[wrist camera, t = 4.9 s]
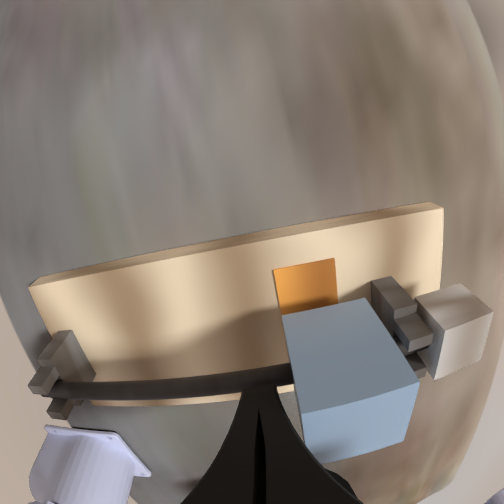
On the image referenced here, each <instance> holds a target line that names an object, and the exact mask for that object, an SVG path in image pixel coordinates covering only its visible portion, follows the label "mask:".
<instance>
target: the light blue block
mask: <svg viewBox="0 0 504 504" xmlns="http://www.w3.org/2000/svg"><path fill="white" fill-rule="evenodd" d="M281 316H282V322H283V327H284V333H285V339H286V345H287V351H288V357H289V362H290V363H291V368H292V374H293V380H294V384H293V386H294V391H295V397H296V402H297V407H298V413H299V418H300V423H301V429H302V434H303V440H304V444H305V445H306V447H307V448H308V449H309V451H310V452H311V453H312V454H313V456H314V457H315V458H316V459H317V460H318V462H319V463H320V464H325V463H329V462H334V461H338V460H342V459H346V458H350V457H354V456H357V455H361V454H365V453H368V452H371V451H375V450H378V449H381V448H384V447H387V446H390V445H393V444H396V443H399V442H402V441H403V440H404V437H405V434H406V431H407V428H408V424H409V421H410V418H411V414H412V411H413V407H414V403H415V400H416V396H417V392H418V388H419V383H420V381H419V379H418V378H417V376H416V374H415V373H414V371H413V369H412V368H411V366H410V365H409V363H408V362H407V360H406V358H405V357H404V355H403V354H402V352H401V351H400V349H399V347H398V346H397V344H396V343H395V341H394V340H393V338H392V337H391V335H390V334H389V332H388V331H387V329H386V328H385V326H384V325H383V323H382V322H381V320H380V319H379V317H378V316H377V314H376V313H375V311H374V310H373V308H372V307H371V306H370V304H369V303H368V301H367V300H366V298H361V299H357V300H353V301H348V302H344V303H339V304H335V305H330V306H326V307H321V308H316V309H311V310H306V311H301V312H296V313H291V314H286V315H281Z"/></svg>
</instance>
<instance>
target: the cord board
mask: <svg viewBox="0 0 504 504" xmlns="http://www.w3.org/2000/svg"><path fill="white" fill-rule="evenodd" d="M442 249H443V208H442V207H440V206H437V205H435V204H433V203H431V202H425V203H419V204H413V205H407V206H401V207H395V208H389V209H383V210H377V211H371V212H365V213H359V214H354V215H348V216H342V217H337V218H331V219H325V220H320V221H314V222H309V223H303V224H298V225H292V226H287V227H282V228H276V229H271V230H266V231H260V232H255V233H250V234H244V235H239V236H234V237H229V238H224V239H219V240H214V241H208V242H203V243H198V244H193V245H188V246H183V247H178V248H173V249H168V250H164V251H159V252H154V253H149V254H144V255H139V256H135V257H130V258H125V259H120V260H116V261H111V262H106V263H101V264H97V265H92V266H88V267H83V268H78V269H74V270H69V271H65V272H60V273H56V274H51V275H47V276H42V277H40V278H38V279H37V280H36V281H35V282H34V283H33V284H31V285H30V286H29V287H28V288H29V291H30V293H31V295H32V298H33V300H34V302H35V304H36V306H37V308H38V311H39V313H40V315H41V317H42V319H43V321H44V323H45V325H46V327H47V329H48V331H49V333H50V335H51V337H52V340H51V341H50V342H49V344H48V345H47V346H46V348H45V349H44V350H43V351H42V353H41V354H40V355H39V357H38V358H37V361H38V363H39V365H40V366H41V367H40V368H39V370H38V371H37V372H36V374H35V375H34V377H33V378H32V380H31V381H30V383H29V384H28V387H29V388H30V390H31V391H32V393H33V394H41V395H42V396H43V397H51V398H54V399H53V400H52V402H51V404H50V406H49V408H48V409H47V413H48V414H49V415H50V417H51V418H53V419H61V420H67V418H68V416H69V414H70V412H71V410H72V408H73V406H74V405H78V406H81V404H82V402H83V400H90V401H91V402H92V404H93V405H94V406H165V405H184V404H198V403H209V402H219V401H229V400H237V399H240V397H241V393H242V390H243V389H244V388H247V387H254V386H261V385H267V384H275V385H276V386H277V390H278V393H284V392H289V391H294V386H293V384H294V380H293V374H292V368H291V363H290V362H289V357H288V351H287V345H286V339H285V333H284V327H283V322H282V316H281V315H286V314H291V313H296V312H301V311H306V310H311V309H316V308H321V307H326V306H330V305H335V304H339V303H344V302H348V301H353V300H357V299H361V298H366V300H367V301H368V303H369V304H370V306H371V307H372V308H373V310H374V311H375V313H376V314H377V316H378V317H379V319H380V320H381V322H382V323H383V325H384V326H385V328H386V329H387V331H388V332H389V334H390V335H391V337H392V338H393V340H394V341H395V343H396V344H397V346H398V347H399V349H400V351H401V352H402V354H403V355H404V357H405V358H406V360H407V362H408V363H409V365H410V366H411V368H412V369H413V371H414V373H415V374H416V376H417V378H421V377H424V376H425V374H426V370H427V371H428V372H429V374H430V375H431V377H432V378H433V380H436V379H438V378H441V377H443V376H446V375H448V374H451V373H453V372H455V371H458V370H460V369H462V368H465V367H467V366H469V365H471V364H473V363H475V362H478V361H480V359H481V356H482V353H483V349H484V346H485V343H486V339H487V336H488V332H489V328H490V325H491V321H492V317H493V312H494V311H493V310H491V309H490V308H489V307H488V306H487V305H486V304H485V303H483V302H482V301H481V300H480V299H479V298H478V297H476V296H475V295H474V294H473V293H472V292H471V291H469V290H468V289H467V288H466V287H464V286H463V285H462V284H461V283H459V284H456V285H453V286H450V287H446V288H443V289H440V290H439V288H440V278H441V266H442Z"/></svg>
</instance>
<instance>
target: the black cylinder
mask: <svg viewBox="0 0 504 504" xmlns="http://www.w3.org/2000/svg"><path fill="white" fill-rule="evenodd" d="M326 470H327V469H326ZM327 472H328V473H329V474H330V475H331V476H332V477H333V478H334V479H335V480H336V481H337V482H338V483H340V484H341V485H342V486H343V487H344V488H345V489H346V490H347V491H349V492H350V493H351V494H352V495H353V496H355V497H356V495H355V493H354V491H353V490H352V488H351V486H350V484H349V483H348V482H347V481H346V480H345V479H343V478H342V477H341V476H339V475H338V474H337V473H334V472H332V471H329V470H327ZM356 498H357V497H356ZM357 499H358V498H357Z"/></svg>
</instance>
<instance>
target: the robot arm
mask: <svg viewBox="0 0 504 504" xmlns="http://www.w3.org/2000/svg"><path fill="white" fill-rule="evenodd" d="M44 428H45V430H46V431H47V432H48V435H47V437H46V439H45V441H44V443H43V445H42V447H41V449H40V451H39V454H38V456H37V458H36V460H35V462H34V464H33V467H32V469H31V472H30V476H29V486H30V490H31V493H32V495H33V497H34V499H35V500H36V501H35V502H31V503H28V504H127V502H128V497H129V493H130V489H131V484H132V480H133V476H144V477H150V476H151V472H150V471H149V470H148V469H147V468H146V467H145V466H144V464H143V463H142V462H141V461H140V460H139V459H138V458H137V456H136V455H135V454H134V453H133V452H132V451H131V449H130V448H129V447H128V446H127V445H126V443H125V442H124V441H123V440H122V438H121V437H120V436H119V435H118V434H117V433H115V432H105V431H93V430H83V429H74V428H66V427H59V426H53V425H45V427H44ZM181 504H363V503H362V502H361V501H360V500H359V499H357V498H356V497H355V496H353V495H352V494H351V493H350V492H349V491H347V490H346V489H345V488H344V487H343V486H342V485H341V484H340V483H338V482H337V481H336V480H335V479H334V478H333V477H332V476H331V475H330V474H329V473H328V472H327V470H326V469H325V468H324V467H323V466H322V465H321V464H320V463H319V462H318V460H317V459H316V458H315V457H314V456H313V454H312V453H311V452H310V451H309V449H308V448H307V447H306V445H305V444H304V442H303V441H302V440H301V438H300V436H299V435H298V433H297V432H296V430H295V429H294V427H293V425H292V423H291V422H290V420H289V418H288V416H287V414H286V412H285V410H284V408H283V406H282V403H281V401H280V398H279V395H278V390H277V386H276V385H275V384H267V385H261V386H254V387H247V388H244V389H243V390H242V393H241V397H240V401H239V405H238V408H237V411H236V414H235V417H234V419H233V422H232V424H231V427H230V429H229V432H228V434H227V436H226V438H225V440H224V442H223V444H222V447H221V449H220V450H219V452H218V454H217V456H216V458H215V459H214V461H213V463H212V464H211V466H210V467H209V469H208V470H207V472H206V473H205V475H204V476H203V478H202V479H201V480H200V482H199V483H198V484H197V486H196V487H195V488H194V489H193V490H192V491H191V493H190V494H189V495H188V496H187V497H186V498H185V499H184V501H183V502H182V503H181ZM485 504H504V488H503V489H502V490H500V491H499V492H497V493H496V494H495V495H493V496H492V497H491V498H490V499H489V500H488V501H487V502H486V503H485Z"/></svg>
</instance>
